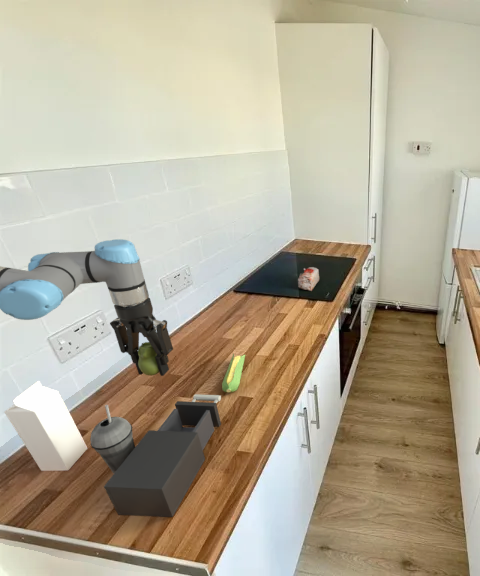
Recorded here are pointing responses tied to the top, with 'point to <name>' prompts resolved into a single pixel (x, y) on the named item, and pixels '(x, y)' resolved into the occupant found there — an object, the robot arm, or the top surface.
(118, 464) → the beverage cup
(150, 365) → the pear
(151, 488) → the cabinet
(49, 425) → the milk
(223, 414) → the top surface
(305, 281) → the food item
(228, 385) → the edible corn
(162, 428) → the drawer
